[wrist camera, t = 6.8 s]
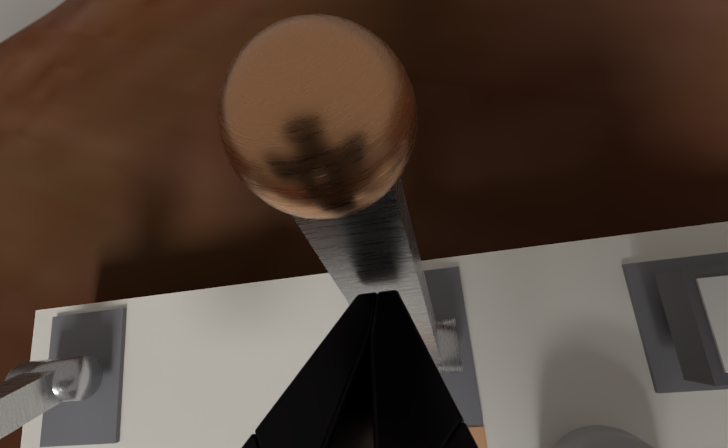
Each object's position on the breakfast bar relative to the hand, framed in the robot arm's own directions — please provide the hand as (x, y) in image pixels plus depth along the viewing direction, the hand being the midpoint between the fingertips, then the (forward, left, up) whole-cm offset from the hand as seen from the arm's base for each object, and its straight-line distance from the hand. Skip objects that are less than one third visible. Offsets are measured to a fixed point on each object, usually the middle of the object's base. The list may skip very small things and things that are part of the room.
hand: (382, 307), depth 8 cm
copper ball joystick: (-1, 0, -5) cm, 5 cm away
